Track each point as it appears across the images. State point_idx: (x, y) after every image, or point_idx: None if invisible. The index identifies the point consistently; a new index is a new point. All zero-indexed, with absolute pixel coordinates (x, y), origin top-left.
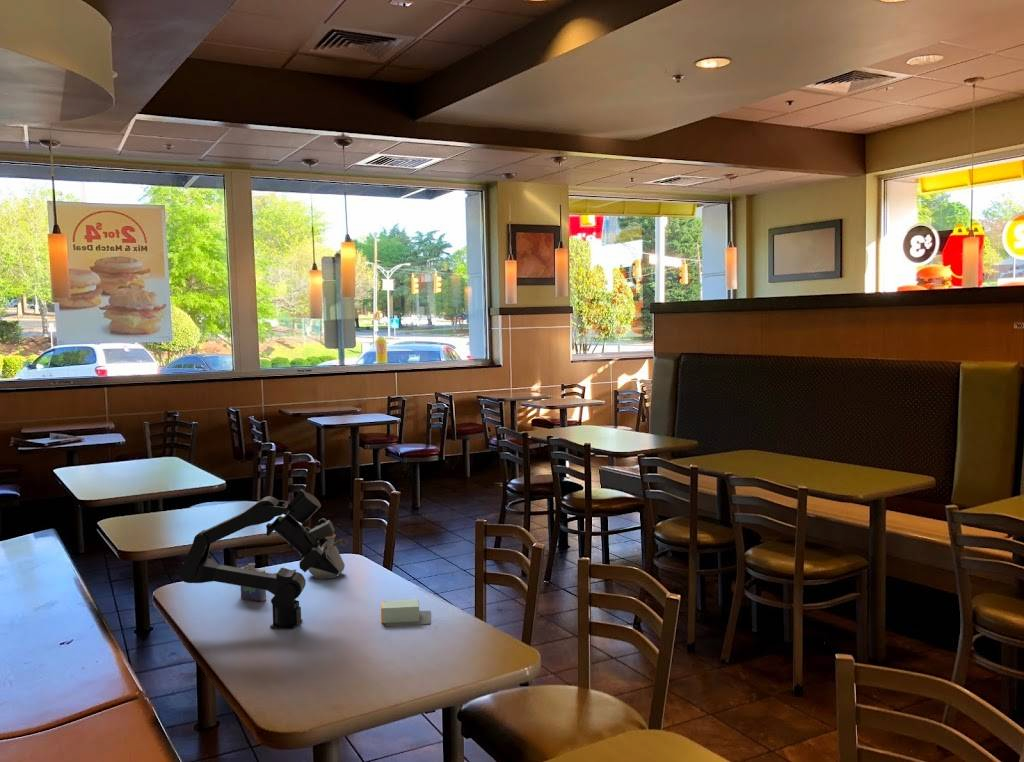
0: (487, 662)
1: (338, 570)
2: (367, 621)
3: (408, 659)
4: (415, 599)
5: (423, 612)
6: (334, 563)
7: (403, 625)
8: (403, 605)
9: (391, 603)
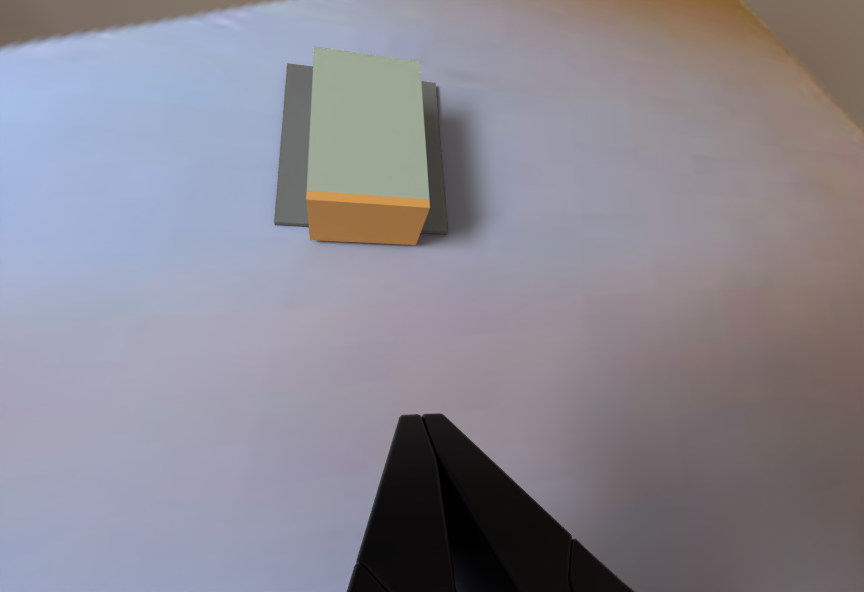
0: (699, 19)
1: (439, 418)
2: (369, 308)
3: (720, 175)
4: (314, 59)
5: (305, 87)
6: (390, 496)
7: (441, 168)
8: (398, 113)
9: (358, 158)
